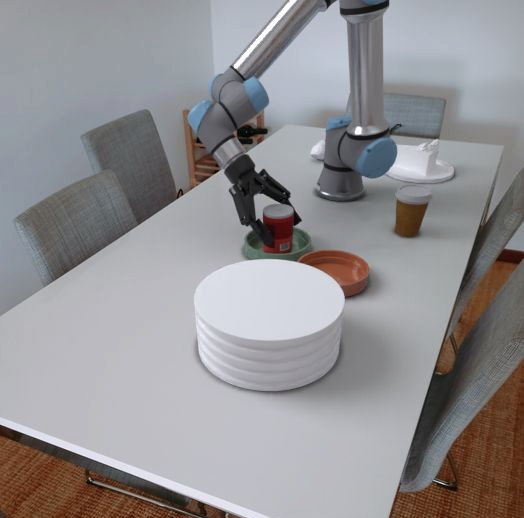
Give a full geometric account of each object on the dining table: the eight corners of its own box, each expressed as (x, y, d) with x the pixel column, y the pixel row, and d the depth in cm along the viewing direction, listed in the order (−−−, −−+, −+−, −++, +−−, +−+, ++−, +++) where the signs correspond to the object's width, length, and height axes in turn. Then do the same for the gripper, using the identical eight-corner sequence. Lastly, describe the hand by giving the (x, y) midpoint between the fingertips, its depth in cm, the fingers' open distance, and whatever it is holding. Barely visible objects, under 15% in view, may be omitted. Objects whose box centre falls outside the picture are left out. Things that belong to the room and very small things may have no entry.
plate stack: (362, 374, 94) (371, 324, 87) (215, 404, 88) (211, 353, 81) (309, 297, 115) (312, 251, 108) (187, 316, 109) (182, 269, 102)
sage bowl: (274, 230, 142) (274, 219, 140) (323, 250, 133) (324, 238, 131) (230, 251, 133) (230, 239, 130) (280, 274, 123) (280, 261, 121)
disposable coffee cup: (424, 241, 138) (434, 198, 130) (388, 238, 139) (396, 195, 132) (423, 226, 145) (432, 185, 137) (389, 223, 146) (396, 182, 139)
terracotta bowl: (324, 255, 131) (325, 243, 129) (381, 278, 122) (383, 265, 120) (280, 280, 121) (281, 267, 119) (339, 307, 112) (340, 294, 110)
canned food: (295, 245, 135) (297, 205, 128) (287, 259, 129) (288, 218, 122) (268, 241, 137) (268, 201, 130) (258, 254, 131) (258, 213, 124)
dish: (461, 167, 184) (469, 134, 177) (440, 188, 168) (448, 153, 161) (396, 155, 195) (402, 123, 188) (371, 174, 178) (375, 140, 171)
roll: (307, 163, 187) (308, 147, 183) (316, 153, 195) (317, 138, 192) (322, 165, 185) (324, 149, 181) (331, 155, 194) (332, 140, 190)
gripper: (253, 157, 137) (299, 223, 140) (195, 186, 120) (248, 259, 123) (270, 140, 131) (318, 209, 134) (212, 167, 115) (267, 245, 118)
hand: (285, 233), depth 129 cm, fingers open, 13 cm apart
